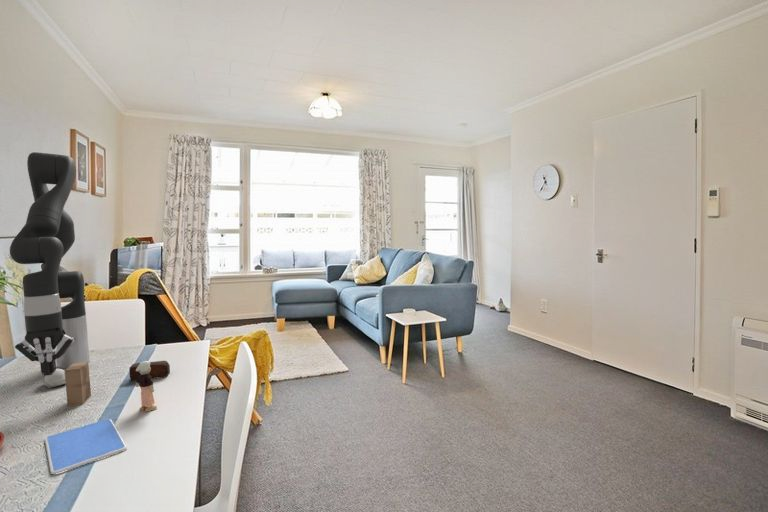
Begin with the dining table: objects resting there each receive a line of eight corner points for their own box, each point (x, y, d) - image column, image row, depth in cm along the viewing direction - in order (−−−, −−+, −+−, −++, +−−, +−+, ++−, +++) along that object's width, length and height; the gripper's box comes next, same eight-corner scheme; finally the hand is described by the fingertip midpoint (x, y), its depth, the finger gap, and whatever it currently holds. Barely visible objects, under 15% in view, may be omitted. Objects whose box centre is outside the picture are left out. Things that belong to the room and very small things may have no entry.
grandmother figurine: (164, 406, 104) (161, 360, 103) (151, 413, 100) (148, 365, 99) (143, 403, 106) (139, 357, 105) (129, 409, 103) (126, 362, 102)
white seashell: (35, 387, 120) (33, 371, 120) (65, 377, 127) (64, 362, 127) (50, 391, 116) (48, 375, 116) (80, 381, 124) (79, 366, 123)
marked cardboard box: (76, 397, 111) (73, 363, 110) (91, 395, 112) (88, 361, 111) (67, 406, 105) (64, 370, 105) (83, 404, 107) (80, 368, 106)
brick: (129, 382, 122) (128, 367, 122) (133, 377, 126) (132, 363, 125) (167, 377, 125) (167, 363, 125) (170, 373, 129) (169, 359, 129)
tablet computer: (44, 441, 89) (44, 436, 89) (111, 421, 97) (110, 416, 97) (51, 479, 75) (50, 473, 75) (128, 452, 84) (127, 446, 83)
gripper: (78, 306, 110) (83, 366, 112) (19, 311, 106) (25, 373, 107) (67, 311, 103) (72, 375, 105) (4, 316, 99) (10, 383, 100)
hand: (48, 374), depth 106 cm, fingers closed
